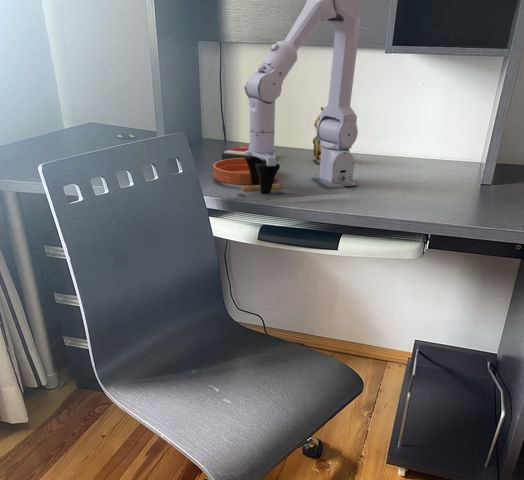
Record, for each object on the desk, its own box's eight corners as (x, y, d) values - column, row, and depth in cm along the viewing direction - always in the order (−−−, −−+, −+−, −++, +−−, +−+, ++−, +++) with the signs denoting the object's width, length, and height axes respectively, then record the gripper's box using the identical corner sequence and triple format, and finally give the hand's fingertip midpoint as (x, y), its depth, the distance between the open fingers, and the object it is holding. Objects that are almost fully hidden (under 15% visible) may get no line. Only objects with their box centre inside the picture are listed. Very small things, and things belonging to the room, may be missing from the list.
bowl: (286, 186, 138) (287, 170, 135) (223, 191, 133) (222, 175, 131) (265, 171, 151) (265, 156, 149) (207, 175, 146) (206, 159, 144)
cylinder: (277, 191, 134) (278, 182, 133) (280, 193, 132) (281, 184, 131) (240, 194, 131) (240, 185, 130) (243, 196, 129) (243, 187, 128)
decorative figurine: (308, 158, 165) (311, 105, 157) (333, 157, 167) (337, 104, 159) (319, 165, 157) (323, 110, 149) (345, 164, 159) (350, 109, 151)
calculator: (275, 146, 162) (257, 154, 149) (274, 161, 164) (256, 170, 151) (241, 143, 165) (221, 150, 153) (241, 158, 167) (221, 166, 155)
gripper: (236, 126, 129) (237, 183, 136) (255, 137, 117) (254, 199, 124) (264, 124, 130) (263, 181, 138) (285, 135, 119) (283, 197, 126)
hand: (261, 190), depth 131 cm, fingers open, 6 cm apart
